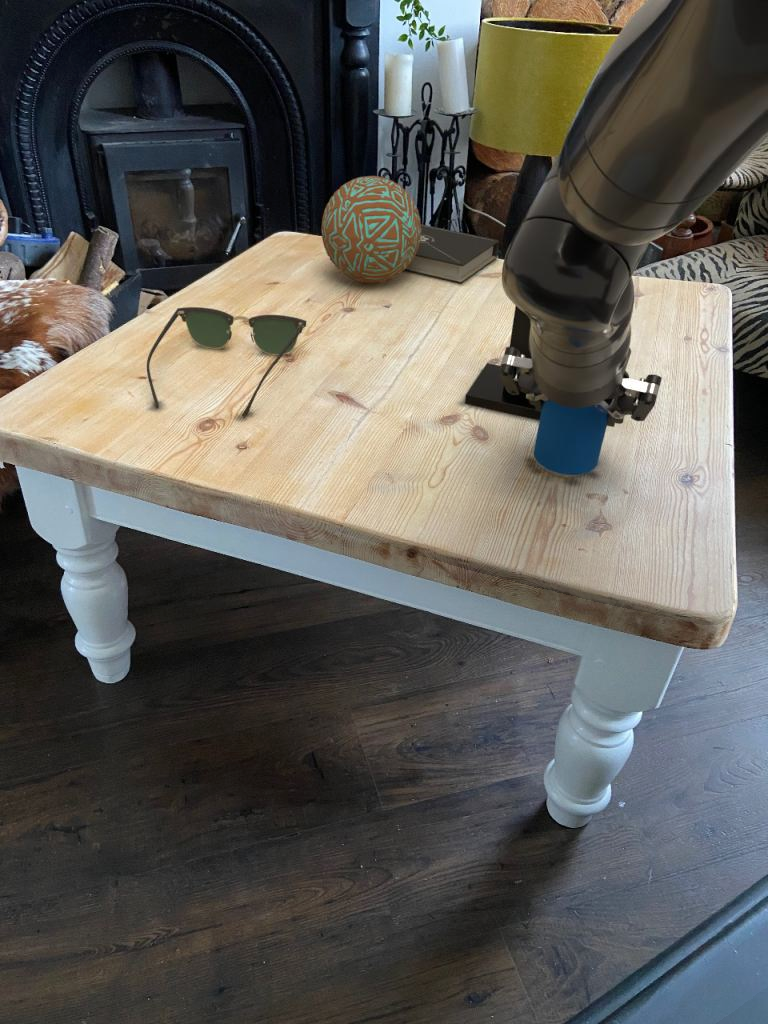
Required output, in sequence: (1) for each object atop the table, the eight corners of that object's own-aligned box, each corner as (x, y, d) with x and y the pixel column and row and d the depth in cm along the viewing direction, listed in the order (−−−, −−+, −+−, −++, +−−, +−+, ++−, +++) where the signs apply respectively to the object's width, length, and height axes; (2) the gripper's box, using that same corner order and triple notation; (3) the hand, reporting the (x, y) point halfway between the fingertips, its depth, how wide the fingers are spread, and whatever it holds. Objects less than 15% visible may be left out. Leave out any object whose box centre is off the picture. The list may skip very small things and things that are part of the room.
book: (497, 257, 126) (500, 239, 125) (461, 283, 116) (463, 264, 114) (387, 233, 134) (387, 216, 133) (343, 256, 124) (343, 238, 122)
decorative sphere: (377, 306, 108) (380, 197, 99) (302, 280, 115) (298, 176, 106) (437, 279, 117) (445, 178, 108) (364, 256, 124) (366, 160, 115)
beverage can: (604, 459, 77) (631, 353, 70) (582, 489, 73) (609, 379, 66) (546, 440, 80) (567, 336, 73) (522, 467, 76) (541, 359, 68)
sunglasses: (128, 405, 83) (120, 364, 80) (183, 341, 96) (178, 304, 93) (272, 421, 81) (269, 380, 78) (308, 354, 94) (307, 317, 91)
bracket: (582, 391, 89) (607, 278, 81) (568, 426, 82) (593, 307, 74) (485, 371, 92) (500, 260, 84) (464, 403, 86) (478, 287, 77)
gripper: (685, 317, 57) (660, 389, 73) (503, 286, 61) (516, 360, 77) (661, 410, 56) (640, 461, 72) (478, 372, 60) (497, 428, 76)
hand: (576, 409), depth 74 cm, fingers closed on beverage can, 6 cm apart
